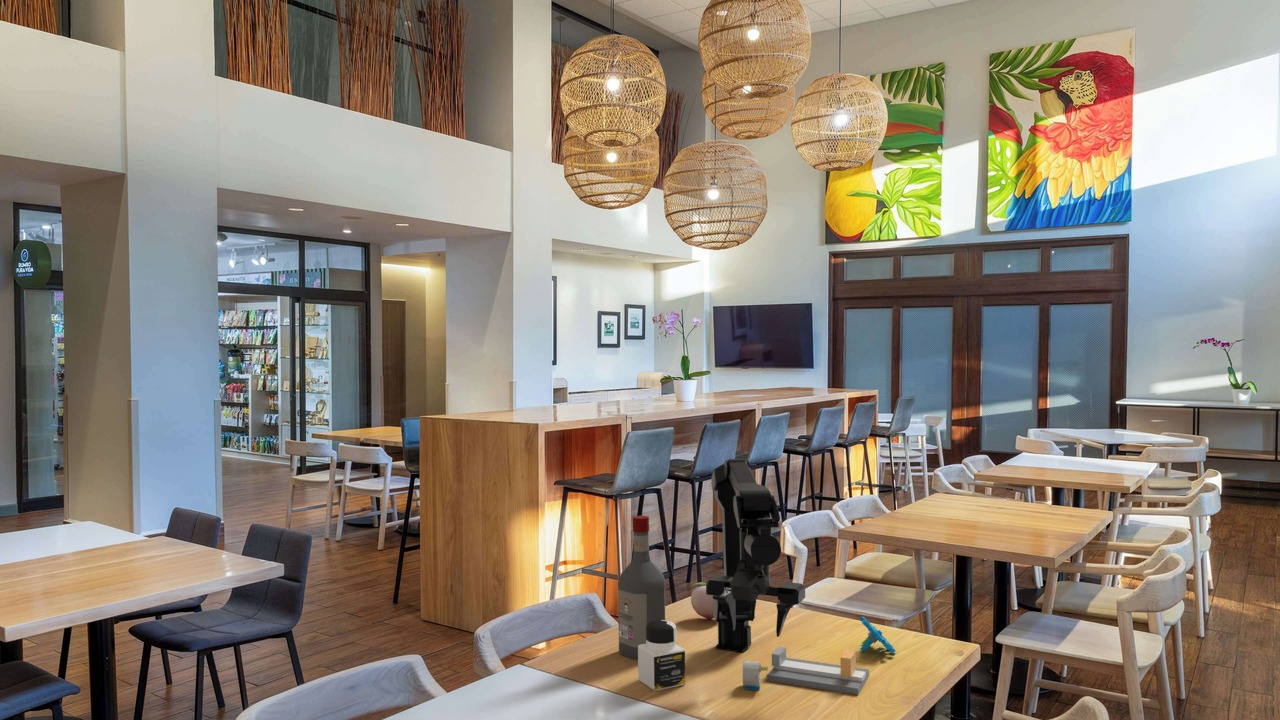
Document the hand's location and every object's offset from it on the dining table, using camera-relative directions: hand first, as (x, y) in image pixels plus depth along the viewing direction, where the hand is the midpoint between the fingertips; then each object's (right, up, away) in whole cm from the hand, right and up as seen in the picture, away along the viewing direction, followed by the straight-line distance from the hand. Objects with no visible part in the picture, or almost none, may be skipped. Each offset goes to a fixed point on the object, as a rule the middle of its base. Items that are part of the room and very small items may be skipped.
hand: (755, 633), depth 165 cm
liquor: (-22, -11, +21) cm, 32 cm away
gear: (+30, -11, +20) cm, 37 cm away
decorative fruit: (-6, -11, +44) cm, 45 cm away
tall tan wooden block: (+19, -8, +2) cm, 21 cm away
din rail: (+13, -11, +5) cm, 18 cm away
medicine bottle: (-18, -11, +3) cm, 22 cm away
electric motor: (0, -11, 0) cm, 11 cm away
